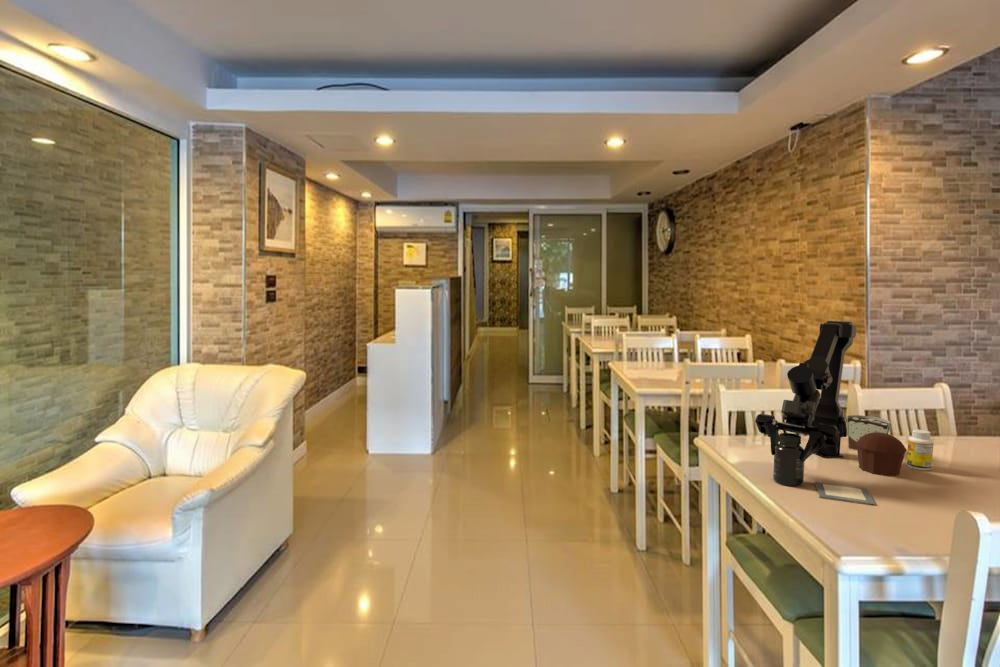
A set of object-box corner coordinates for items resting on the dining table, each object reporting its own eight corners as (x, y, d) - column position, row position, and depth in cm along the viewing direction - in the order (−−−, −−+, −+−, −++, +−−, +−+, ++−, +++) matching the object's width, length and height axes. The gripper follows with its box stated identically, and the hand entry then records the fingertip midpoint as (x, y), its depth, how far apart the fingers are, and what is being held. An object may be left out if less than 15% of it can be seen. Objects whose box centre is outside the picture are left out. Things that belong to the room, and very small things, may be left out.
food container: (897, 454, 170) (900, 421, 169) (888, 458, 167) (890, 423, 166) (852, 444, 180) (855, 413, 179) (843, 447, 177) (845, 415, 176)
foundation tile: (814, 482, 144) (815, 481, 144) (866, 489, 140) (866, 487, 140) (819, 497, 134) (819, 495, 134) (875, 505, 130) (875, 503, 130)
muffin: (844, 464, 160) (846, 428, 159) (881, 463, 161) (884, 428, 160) (875, 478, 148) (878, 440, 148) (916, 477, 149) (919, 439, 149)
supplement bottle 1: (796, 478, 147) (799, 432, 146) (808, 487, 141) (811, 439, 140) (768, 476, 148) (771, 431, 147) (778, 486, 141) (781, 438, 140)
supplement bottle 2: (907, 463, 162) (910, 427, 161) (931, 467, 158) (934, 430, 157) (905, 468, 157) (908, 431, 156) (930, 472, 154) (933, 434, 153)
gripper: (759, 383, 152) (741, 431, 145) (840, 393, 139) (823, 447, 132) (768, 408, 158) (751, 456, 151) (846, 420, 145) (831, 473, 138)
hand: (787, 457), depth 143 cm, fingers closed on supplement bottle 1, 7 cm apart
